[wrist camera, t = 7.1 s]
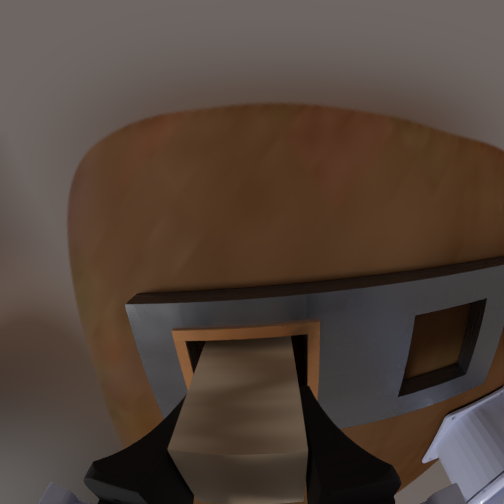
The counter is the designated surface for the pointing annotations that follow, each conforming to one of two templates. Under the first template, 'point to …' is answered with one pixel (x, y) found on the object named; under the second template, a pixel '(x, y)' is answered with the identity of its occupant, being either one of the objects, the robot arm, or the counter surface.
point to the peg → (243, 425)
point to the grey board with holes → (331, 335)
